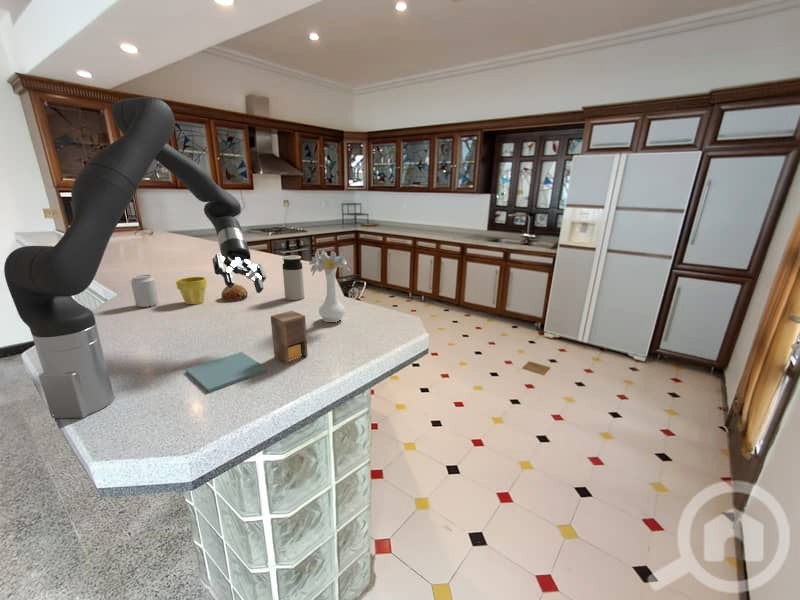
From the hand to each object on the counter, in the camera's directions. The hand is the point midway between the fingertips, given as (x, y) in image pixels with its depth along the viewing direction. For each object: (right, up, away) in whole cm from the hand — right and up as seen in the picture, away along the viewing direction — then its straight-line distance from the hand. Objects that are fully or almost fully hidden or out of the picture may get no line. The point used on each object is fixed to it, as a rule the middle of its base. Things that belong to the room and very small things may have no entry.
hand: (246, 288), depth 97 cm
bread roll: (-28, -3, +53) cm, 60 cm away
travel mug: (-3, -3, +55) cm, 55 cm away
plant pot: (-42, -4, +47) cm, 63 cm away
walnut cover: (+12, -19, 0) cm, 23 cm away
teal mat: (-1, -21, -9) cm, 23 cm away
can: (-57, -6, +42) cm, 71 cm away
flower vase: (+18, -10, +29) cm, 36 cm away
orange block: (+12, -19, 0) cm, 23 cm away
